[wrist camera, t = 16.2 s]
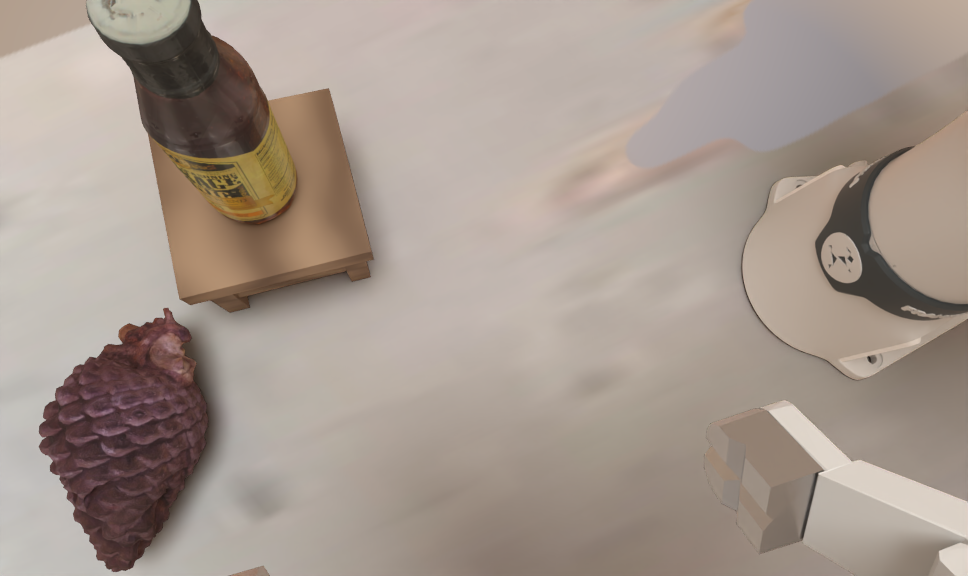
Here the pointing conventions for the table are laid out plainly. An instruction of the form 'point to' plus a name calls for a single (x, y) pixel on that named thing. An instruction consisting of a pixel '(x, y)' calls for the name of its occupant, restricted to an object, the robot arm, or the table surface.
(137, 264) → the table surface
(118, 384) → the pine cone
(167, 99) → the sauce bottle
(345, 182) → the light brown wooden stool
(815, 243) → the robot arm
